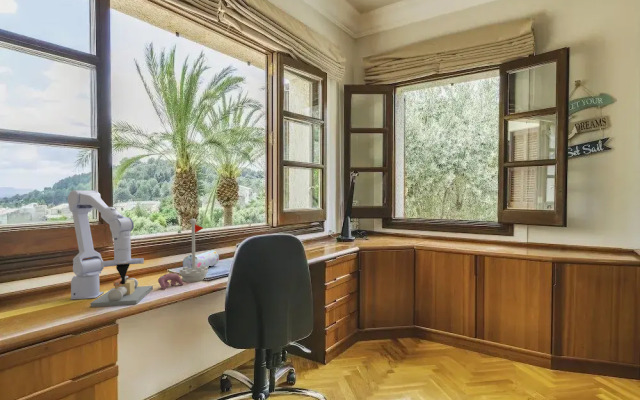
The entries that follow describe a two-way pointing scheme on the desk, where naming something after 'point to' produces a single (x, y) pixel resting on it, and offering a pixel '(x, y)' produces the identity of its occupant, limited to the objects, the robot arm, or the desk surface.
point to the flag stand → (194, 272)
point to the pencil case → (202, 259)
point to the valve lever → (119, 281)
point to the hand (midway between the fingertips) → (123, 283)
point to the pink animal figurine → (173, 277)
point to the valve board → (128, 298)
